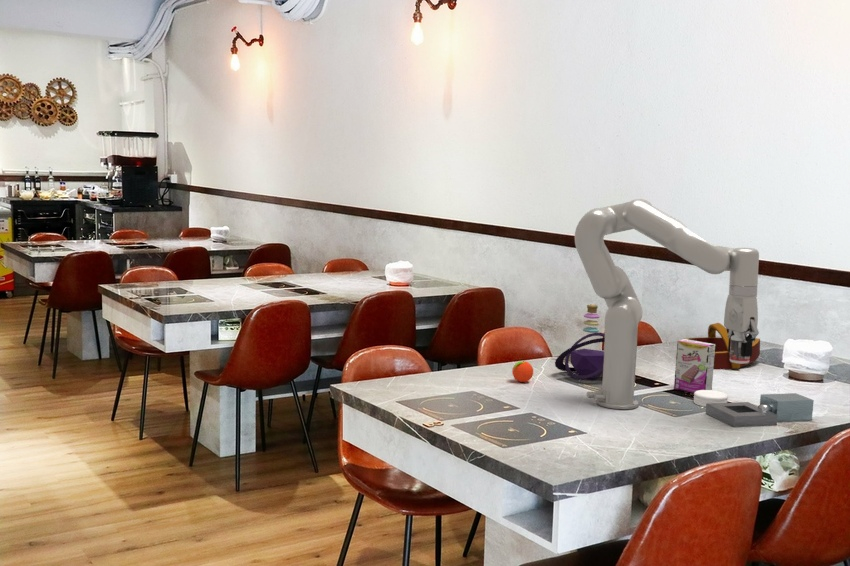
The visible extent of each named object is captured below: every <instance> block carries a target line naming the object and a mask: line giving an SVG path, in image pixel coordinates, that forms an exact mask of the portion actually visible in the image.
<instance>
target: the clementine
mask: <svg viewBox="0 0 850 566" xmlns="http://www.w3.org/2000/svg"><path fill="white" fill-rule="evenodd" d="M511 372H512V377H513V378H514V379H515V380H516V381H517V382H520V383H526V382H528V381H530V380H531V379H532V378H533V375H534V368H533V366H532V365H531V363H529V361H525V360H521V361H517V362H516V363H515V364H514V365H513V368H512V371H511Z"/></svg>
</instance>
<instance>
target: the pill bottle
mask: <svg viewBox="0 0 850 566" xmlns="http://www.w3.org/2000/svg"><path fill="white" fill-rule="evenodd" d="M747 331H748V330H747ZM733 332H734V335H732V336H731V342H730V361H731V362H733V363H739V364H745V363H749V359H750V356H749V357H742V356H741V343H742V342H743V338H742V333H740V332H736V331H733ZM747 336H748V334H746V337H747Z"/></svg>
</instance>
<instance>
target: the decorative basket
mask: <svg viewBox="0 0 850 566" xmlns="http://www.w3.org/2000/svg"><path fill="white" fill-rule="evenodd" d="M717 333H718V334H719V335H720V337H716V336H717ZM683 339H688V340H694V341H699V342H705V343H711V344H715V356H714V368H713V370H729V369H731V368H732V369H731V370H739V369H741V367H744V366H747V365H750V364H752V363H754V362H755V361H756V360H757V359H759V357H760V355H761V338H755V339H754V342H753V343H752V356H750V359H749V363H745V364H739V363H733V362H731V361H730V352H728V344H729V339H730V338H728V333H727V329H726V328H725V327H724V324H722V323H720V322H715V323H711V324H709V326H708V327H707V337H704V336H703V337H686V338H685V337H684V338H683Z"/></svg>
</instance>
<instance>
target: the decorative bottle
mask: <svg viewBox="0 0 850 566" xmlns="http://www.w3.org/2000/svg"><path fill="white" fill-rule="evenodd" d="M586 308H587V311H586V312H587V313H584V315H583V317H584V318H587V319H588V320H585V321H583V324H584V325H586V326H587V327H584V328H583V329H582V331H583V332H586V333H588V334H587V335H584V336H582V337H581V338H579V339H577V340H576V341H575V342H574V343H573V344H572V345H571V346H570V347H569V348H567V349H566V350H565V351H563V352H562V353H560V354H559V356H557V358H556V359H555V361H554V367H555V368H556V369H557V370H559V371H563V372H566V373H567V374H568V375H569V376H570V377H571V378H574V379H577V380H595V379H598V378H599V377H600V376H602V375H603V363H604V350H599V349H598V350H597V349H591V348H582V347H585V346H588V345H592V344H596V343H597V344H598V343H605V332H599V329H598V328H597V326H599V325H600V323H599V322H598V321H597V320H594V319H599V318H601V316H600V315H599V314H598V313H597V312H598V305H597V304H592V303H591V304H590V303H589V304H587V305H586ZM589 319H591V320H589ZM589 326H590V327H589ZM591 326H593V327H591ZM594 326H596V327H594ZM596 336H597V337H600V338H593V339H590V340H586V339H588V338H592V337H596ZM584 340H585V341H584ZM569 360H570V364H571V367H570V365H569ZM574 372H576V373H577V374H576V373H574Z"/></svg>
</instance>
